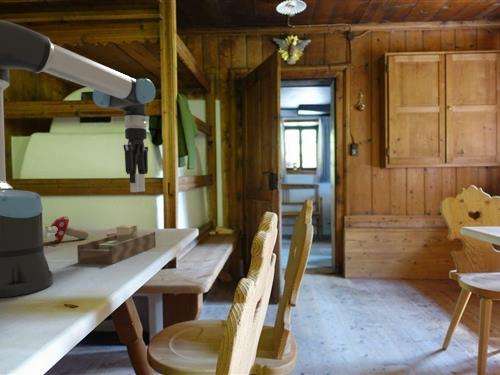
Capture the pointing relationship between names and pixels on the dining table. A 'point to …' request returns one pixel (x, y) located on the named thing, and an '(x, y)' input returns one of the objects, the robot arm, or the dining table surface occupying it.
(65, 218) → the decorative mushroom
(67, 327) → the dining table surface
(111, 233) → the brick
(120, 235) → the maple block
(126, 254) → the box
